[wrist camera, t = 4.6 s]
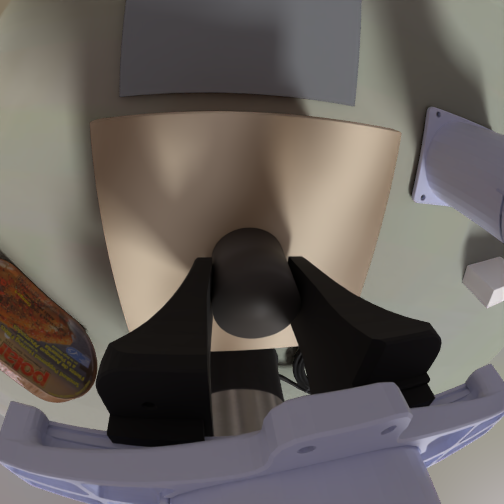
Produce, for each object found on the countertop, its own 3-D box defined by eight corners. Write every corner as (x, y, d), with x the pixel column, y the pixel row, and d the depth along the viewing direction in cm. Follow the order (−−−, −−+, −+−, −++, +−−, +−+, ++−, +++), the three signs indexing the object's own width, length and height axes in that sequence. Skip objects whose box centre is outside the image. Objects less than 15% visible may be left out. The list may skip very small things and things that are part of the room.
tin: (107, 343, 26) (88, 416, 18) (91, 355, 26) (72, 424, 19) (-9, 238, 19) (-62, 294, 11) (-18, 258, 19) (-65, 313, 12)
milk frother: (164, 360, 27) (157, 504, 14) (299, 268, 24) (373, 438, 11) (253, 410, 34) (272, 518, 21) (365, 347, 30) (421, 461, 17)
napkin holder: (440, 284, 28) (470, 316, 23) (497, 204, 24) (533, 227, 19) (478, 320, 33) (499, 345, 28) (523, 260, 29) (547, 282, 25)
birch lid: (392, 129, 12) (449, 153, 8) (339, 331, 18) (360, 381, 15) (96, 119, 10) (50, 140, 7) (137, 341, 17) (128, 397, 13)
